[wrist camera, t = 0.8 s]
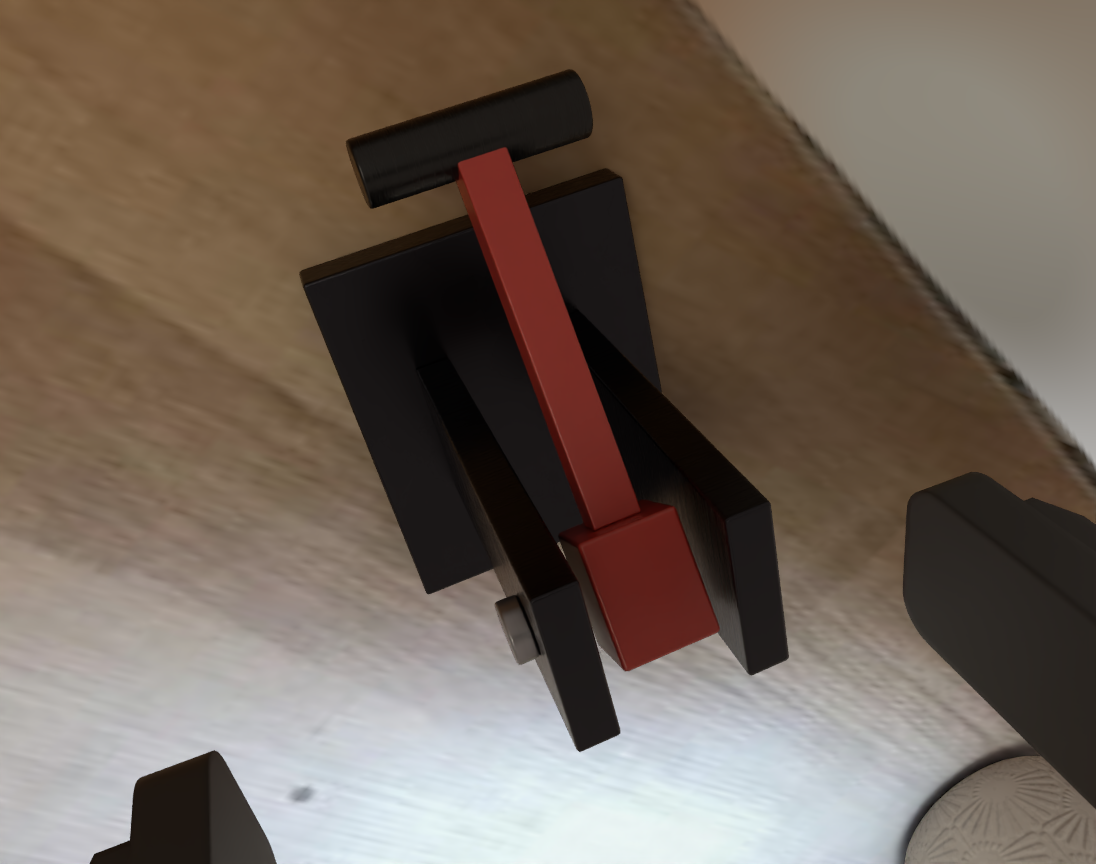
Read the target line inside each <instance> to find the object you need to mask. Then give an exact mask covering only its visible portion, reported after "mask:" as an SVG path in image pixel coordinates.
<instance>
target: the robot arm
mask: <svg viewBox="0 0 1096 864" xmlns="http://www.w3.org/2000/svg"><path fill="white" fill-rule="evenodd" d="M903 597H904V602H905V606H906V609H907V611H908V614H909V616H910V618H911V620H912V622H913V624H914V626H915V628H916V629H917V631H918V632H919V634H920V635H921V636H922V637H923V639H924V640H925V641H926V642H927V643H928V644H929V645H930V646H931V647H932V648H933V649H934V650H935V651H936V652H937V653H938V654H939V655H940V656H941V657H942V658H943V659H944V660H945V661H946V662H947V663H948V664H949V665H950V666H951V667H952V668H953V669H954V670H955V671H956V672H957V673H958V674H959V675H960V676H961V677H962V678H963V679H964V680H965V681H966V682H967V683H968V684H969V685H970V686H971V687H972V688H973V689H974V690H975V691H976V692H977V693H978V694H979V695H980V696H981V697H982V698H983V699H984V700H986V701H987V702H988V703H989V704H990V705H991V706H992V707H993V708H994V709H995V710H996V711H997V712H998V713H999V714H1000V715H1001V716H1002V717H1003V718H1004V719H1005V720H1006V721H1007V722H1008V723H1009V724H1010V725H1011V726H1012V727H1013V728H1014V729H1015V730H1016V731H1017V732H1018V733H1019V734H1020V735H1021V736H1022V737H1023V738H1024V739H1025V740H1026V741H1027V742H1028V743H1029V744H1030V745H1031V746H1032V747H1033V748H1034V749H1035V750H1036V751H1037V752H1038V753H1039V754H1040V755H1041V756H1042V757H1043V758H1044V759H1045V760H1046V761H1047V762H1048V763H1049V764H1050V765H1051V766H1052V767H1053V768H1054V769H1055V770H1056V771H1057V772H1058V773H1059V774H1060V775H1061V776H1062V777H1063V778H1064V779H1065V780H1066V781H1067V782H1068V783H1069V784H1070V785H1071V786H1072V787H1073V788H1074V789H1075V790H1076V791H1077V792H1078V793H1079V794H1080V795H1081V796H1082V797H1083V798H1084V799H1086V800H1087V801H1088V802H1089V803H1090V804H1091V805H1092V806H1093V807H1094V808H1095V809H1096V524H1094V523H1093V522H1091V521H1090V520H1088V519H1087V518H1085V517H1084V516H1082V515H1079V514H1076V513H1073V512H1071V511H1068V510H1065V509H1062V508H1060V507H1057V506H1054V505H1051V504H1049V503H1046V502H1043V501H1040V500H1038V499H1035V498H1030V499H1028V500H1025V501H1023V500H1021V499H1020V498H1019V497H1017V496H1016V495H1014V494H1013V493H1012V492H1010V491H1009V490H1007V489H1006V488H1004V487H1003V486H1002V485H1000V484H999V483H997V482H996V481H994V480H993V479H992V478H990V477H988V476H987V475H984V474H982V473H978V472H970V473H967V474H965V475H962V476H959V477H956V478H954V479H951V480H948V481H946V482H943V483H940V484H938V485H935V486H932V487H930V488H927V489H924V490H921V491H919V492H916V493H914V494H913V495H912V496H911V497H910V499H909V501H908V505H907V515H906V535H905V555H904V574H903ZM90 864H276V860H275V857H274V854H273V851H272V848H271V846H270V843H269V841H268V839H267V837H266V835H265V833H264V831H263V830H262V828H261V826H260V824H259V822H258V820H257V819H256V817H255V815H254V813H253V811H252V809H251V808H250V806H249V804H248V802H247V800H246V799H245V797H244V795H243V793H242V791H241V789H240V788H239V786H238V784H237V782H236V780H235V779H234V777H233V775H232V773H231V771H230V769H229V768H228V766H227V764H226V762H225V761H224V759H223V757H222V756H221V755H220V754H219V753H218V752H217V751H215V750H214V751H211V752H208V753H206V754H203V755H200V756H198V757H195V758H192V759H190V760H187V761H184V762H181V763H179V764H176V765H173V766H171V767H168V768H165V769H163V770H160V771H157V772H155V773H152V774H149V775H146V776H144V777H141V778H139V779H138V780H137V782H136V784H135V788H134V793H133V805H132V820H131V834H130V841H127V842H125V843H122V844H119V845H117V846H114V847H112V848H109V849H106V850H104V851H101V852H98V853H96V854H94V856H93V858H92V860H91V862H90Z"/></svg>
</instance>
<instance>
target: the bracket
mask: <svg viewBox="0 0 1096 864" xmlns="http://www.w3.org/2000/svg"><path fill="white" fill-rule="evenodd" d="M525 198H526V201H527V203H528V206H529V209H530V211H531V214H532V217H533V219H534V222H535V225H536V228H537V230H538V233H539V236H540V238H541V241H542V244H543V246H544V249H545V252H546V255H547V257H548V260H549V263H550V265H551V268H552V271H553V273H554V276H555V279H556V282H557V284H558V287H559V290H560V292H561V295H562V298H563V300H564V303H565V306H566V309H567V311H568V314H569V317H570V319H571V322H572V325H573V327H574V330H575V333H576V336H577V338H578V341H579V344H580V346H581V349H582V352H583V354H584V357H585V360H586V363H587V365H588V368H589V371H590V373H591V376H592V379H593V381H594V384H595V387H596V390H597V392H598V395H599V398H600V400H601V403H602V406H603V408H604V411H605V414H606V417H607V419H608V422H609V425H610V427H611V430H612V433H613V435H614V438H615V441H616V444H617V446H618V449H619V452H620V454H621V457H622V460H623V462H624V465H625V468H626V471H627V473H628V476H629V479H630V481H631V484H632V487H633V489H634V492H635V495H636V498H637V500H638V501H639V500H649V501H653V502H658V503H662V504H667V505H671V506H674V507H675V508H676V509H677V512H678V515H679V518H680V520H681V523H682V526H683V528H684V531H685V534H686V537H687V539H688V542H689V545H690V547H691V550H692V553H693V556H694V558H695V561H696V564H697V566H698V569H699V572H700V575H701V577H702V580H703V583H704V585H705V588H706V591H707V594H708V596H709V599H710V602H711V604H712V607H713V610H714V613H715V615H716V618H717V621H718V623H719V626H720V631H719V632H718V634H719V635H720V636H721V638H722V639H723V640H724V642H725V643H726V645H727V646H728V647H729V649H730V650H731V651H732V653H733V654H734V655H735V657H736V658H737V659H738V661H739V662H740V664H741V665H742V666H743V668H744V669H745V670H746V672H747V673H748V674H749V675H754V674H756V673H759V672H761V671H763V670H765V669H768V668H770V667H772V666H774V665H777V664H779V663H781V662H783V661H786V660H787V659H788V658H789V654H788V646H787V637H786V629H785V620H784V612H783V604H782V595H781V587H780V578H779V570H778V561H777V553H776V545H775V536H774V528H773V519H772V511H771V504H770V502H769V501H768V500H767V499H766V498H765V497H764V496H763V495H762V494H761V493H760V492H759V491H758V490H757V489H756V488H755V487H754V486H753V485H752V484H751V483H750V482H749V481H748V480H747V479H746V478H745V477H744V476H743V475H742V474H741V473H740V472H739V471H738V470H737V469H736V468H735V467H734V466H733V465H732V464H731V463H730V462H729V461H728V460H727V459H726V458H725V457H724V456H723V455H722V454H721V453H720V452H719V451H718V450H717V449H716V448H715V447H714V446H713V445H712V443H711V442H710V441H709V440H708V439H707V438H706V437H705V436H704V435H703V434H702V433H701V432H700V431H699V430H698V429H697V428H696V427H695V426H694V425H693V424H692V423H691V422H690V421H689V420H688V419H687V418H686V417H685V416H684V415H683V414H682V413H681V412H680V411H679V410H678V409H677V408H676V407H675V406H674V405H673V404H672V403H671V402H670V401H669V400H668V399H667V398H666V397H665V396H664V395H663V394H662V390H661V385H660V379H659V374H658V369H657V363H656V358H655V352H654V347H653V342H652V336H651V331H650V325H649V320H648V315H647V309H646V304H645V298H644V293H643V287H642V282H641V277H640V271H639V266H638V260H637V255H636V250H635V244H634V239H633V233H632V228H631V223H630V217H629V212H628V206H627V201H626V195H625V190H624V185H623V179H622V177H620V176H619V175H617V174H615V173H614V172H612V171H610V170H609V169H606V168H605V169H602V170H599V171H596V172H593V173H590V174H587V175H584V176H581V177H578V178H575V179H572V180H569V181H566V182H563V183H560V184H557V185H554V186H551V187H548V188H545V189H542V190H539V191H537V192H534V193H531V194H528V195H525ZM299 275H300V278H301V282H302V285H303V288H304V291H305V293H306V296H307V298H308V301H309V303H310V306H311V308H312V311H313V313H314V316H315V318H316V321H317V323H318V326H319V328H320V330H321V333H322V335H323V338H324V340H325V343H326V345H327V348H328V350H329V353H330V355H331V358H332V360H333V363H334V365H335V368H336V370H337V373H338V375H339V378H340V380H341V383H342V385H343V387H344V390H345V392H346V395H347V397H348V400H349V402H350V405H351V407H352V410H353V412H354V415H355V417H356V420H357V422H358V425H359V427H360V430H361V432H362V435H363V437H364V440H365V442H366V444H367V447H368V449H369V452H370V454H371V457H372V459H373V462H374V464H375V467H376V469H377V472H378V474H379V477H380V479H381V482H382V484H383V487H384V489H385V492H386V494H387V497H388V499H389V501H390V504H391V506H392V509H393V511H394V514H395V516H396V519H397V521H398V524H399V526H400V529H401V531H402V534H403V536H404V539H405V541H406V544H407V546H408V549H409V551H410V554H411V556H412V558H413V561H414V563H415V566H416V568H417V571H418V573H419V576H420V578H421V581H422V583H423V586H424V588H425V591H426V593H427V594H431V593H434V592H436V591H439V590H441V589H444V588H446V587H449V586H451V585H454V584H456V583H459V582H461V581H464V580H466V579H469V578H471V577H474V576H476V575H479V574H481V573H484V572H486V571H488V570H491V569H494V571H495V573H496V575H497V578H498V580H499V582H500V584H501V586H502V589H503V591H504V593H505V595H506V597H507V598H505V599H502V600H500V601H497V602H496V603H495V609H496V612H497V615H498V617H499V620H500V623H501V626H502V628H503V631H504V633H505V636H506V639H507V641H508V644H509V646H510V648H511V651H512V653H513V656H514V658H515V660H516V662H517V663H518V664H519V665H522V664H524V663H527V662H529V661H531V660H534V659H535V660H536V662H537V665H538V667H539V669H540V671H541V673H542V675H543V678H544V680H545V682H546V684H547V686H548V688H549V691H550V693H551V695H552V697H553V699H554V701H555V704H556V706H557V708H558V710H559V712H560V715H561V717H562V719H563V721H564V723H565V725H566V728H567V730H568V732H569V734H570V736H571V738H572V741H573V743H574V745H575V747H576V749H577V750H578V751H579V752H581V751H584V750H586V749H588V748H590V747H593V746H595V745H597V744H599V743H602V742H604V741H606V740H608V739H611V738H613V737H615V736H617V735H619V734H620V727H619V723H618V720H617V716H616V713H615V709H614V705H613V702H612V698H611V695H610V691H609V687H608V684H607V680H606V677H605V673H604V669H603V666H602V662H601V659H600V655H599V651H598V648H597V644H596V641H595V637H594V633H593V630H592V626H591V623H590V619H589V616H588V612H587V608H586V605H585V601H584V598H583V594H582V590H581V587H580V583H579V581H578V579H577V578H576V576H575V574H574V572H573V571H572V569H571V567H570V565H569V564H568V562H567V560H566V559H565V557H564V555H563V553H562V552H561V550H560V548H559V547H558V545H557V543H558V542H560V541H559V538H558V534H559V533H560V532H562V531H565V530H567V529H570V528H572V527H575V526H577V525H580V524H582V523H583V520H582V517H581V515H580V512H579V509H578V506H577V504H576V501H575V498H574V496H573V493H572V490H571V488H570V485H569V482H568V480H567V477H566V474H565V472H564V469H563V466H562V464H561V461H560V458H559V456H558V453H557V450H556V448H555V445H554V442H553V440H552V437H551V434H550V432H549V429H548V426H547V424H546V421H545V418H544V416H543V413H542V410H541V408H540V405H539V402H538V399H537V397H536V394H535V391H534V389H533V386H532V383H531V381H530V378H529V375H528V373H527V370H526V367H525V365H524V362H523V359H522V357H521V354H520V351H519V349H518V346H517V343H516V341H515V338H514V335H513V333H512V330H511V327H510V325H509V322H508V319H507V317H506V314H505V311H504V309H503V306H502V303H501V301H500V298H499V295H498V292H497V290H496V287H495V284H494V282H493V279H492V276H491V274H490V271H489V268H488V266H487V263H486V260H485V258H484V255H483V252H482V250H481V247H480V244H479V242H478V239H477V236H476V234H475V231H474V228H473V226H472V223H471V220H470V218H469V215H465V216H462V217H459V218H456V219H453V220H451V221H448V222H445V223H442V224H439V225H436V226H433V227H430V228H427V229H424V230H421V231H418V232H415V233H412V234H409V235H406V236H403V237H400V238H397V239H394V240H391V241H388V242H385V243H382V244H379V245H376V246H373V247H370V248H367V249H364V250H362V251H359V252H356V253H353V254H350V255H347V256H344V257H341V258H338V259H335V260H332V261H329V262H326V263H323V264H320V265H317V266H314V267H311V268H308V269H305V270H302V271H301V272H300V274H299Z"/></svg>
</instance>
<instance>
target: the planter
mask: <svg viewBox="0 0 1096 864" xmlns="http://www.w3.org/2000/svg"><path fill="white" fill-rule="evenodd" d="M904 864H1096V809H1095V808H1094V807H1093V806H1092V805H1091V804H1090V803H1089V802H1088V801H1087V800H1086V799H1084V798H1083V797H1082V796H1081V795H1080V794H1079V793H1078V792H1077V791H1076V790H1075V789H1074V788H1073V787H1072V786H1071V785H1070V784H1069V783H1068V782H1067V781H1066V780H1065V779H1064V778H1063V777H1062V776H1061V775H1060V774H1059V773H1058V772H1057V771H1056V770H1055V769H1054V768H1053V767H1052V766H1051V765H1050V764H1049V763H1048V762H1047V761H1046V760H1045V759H1044V758H1043V757H1042V756H1022V757H1015V758H1011V759H1007V760H1003V761H1000V762H997V763H994V764H991V765H989V766H987V767H984V768H982V769H980V770H978V771H977V772H975V773H973V774H971V775H970V776H968V777H966V778H965V779H963V780H962V781H961V782H959V783H958V784H956V785H955V786H954V787H953V788H951V789H950V790H949V791H948V792H947V793H945V794H944V795H943V796H942V797H941V798H940V799H939V800H938V801H937V802H936V803H935V804H934V805H933V806H932V807H931V808H930V810H929V811H928V812H927V813H926V815H925V816H924V817H923V819H922V820H921V821H920V823H919V825H918V826H917V828H916V830H915V832H914V834H913V836H912V838H911V840H910V843H909V845H908V848H907V852H906V857H905V862H904Z"/></svg>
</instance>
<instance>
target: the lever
mask: <svg viewBox="0 0 1096 864" xmlns="http://www.w3.org/2000/svg"><path fill="white" fill-rule="evenodd" d="M592 129H593V119H592V111H591V105H590V101H589V98H588V95H587V92H586V89H585V87H584V85H583V83H582V81H581V79H580V77H579V76H578V74H577V73H576V72H575V71H574V70H565V71H562V72H559V73H556V74H553V75H550V76H546V77H543V78H540V79H537V80H534V81H531V82H527V83H524V84H521V85H518V86H515V87H512V88H508V89H505V90H502V91H499V92H496V93H493V94H490V95H486V96H483V97H480V98H477V99H474V100H471V101H467V102H464V103H461V104H458V105H455V106H452V107H448V108H445V109H442V110H439V111H436V112H433V113H429V114H426V115H423V116H420V117H417V118H414V119H411V120H407V121H404V122H401V123H398V124H395V125H392V126H388V127H385V128H382V129H379V130H376V131H373V132H369V133H366V134H363V135H360V136H357V137H354V138H351V139H348V140H347V141H346V147H347V151H348V154H349V157H350V161H351V164H352V167H353V169H354V172H355V175H356V178H357V181H358V183H359V186H360V189H361V191H362V194H363V196H364V198H365V201H366V203H367V205H368V206H369V207H370V208H372V209H373V208H376V207H379V206H382V205H385V204H388V203H391V202H394V201H397V200H400V199H403V198H407V197H410V196H413V195H416V194H419V193H422V192H425V191H428V190H431V189H434V188H437V187H440V186H443V185H446V184H449V183H452V182H455V181H456V183H457V185H458V188H459V191H460V194H461V196H462V199H463V202H464V204H465V207H466V210H467V212H468V215H469V218H470V220H471V223H472V226H473V228H474V231H475V234H476V236H477V239H478V242H479V244H480V247H481V250H482V252H483V255H484V258H485V260H486V263H487V266H488V268H489V271H490V274H491V276H492V279H493V282H494V284H495V287H496V290H497V292H498V295H499V298H500V301H501V303H502V306H503V309H504V311H505V314H506V317H507V319H508V322H509V325H510V327H511V330H512V333H513V335H514V338H515V341H516V343H517V346H518V349H519V351H520V354H521V357H522V359H523V362H524V365H525V367H526V370H527V373H528V375H529V378H530V381H531V383H532V386H533V389H534V391H535V394H536V397H537V399H538V402H539V405H540V408H541V410H542V413H543V416H544V418H545V421H546V424H547V426H548V429H549V432H550V434H551V437H552V440H553V442H554V445H555V448H556V450H557V453H558V456H559V458H560V461H561V464H562V466H563V469H564V472H565V474H566V477H567V480H568V482H569V485H570V488H571V490H572V493H573V496H574V498H575V501H576V504H577V506H578V509H579V512H580V515H581V517H582V520H583V523H582V524H580V525H577V526H575V527H572V528H570V529H567V530H565V531H562V532H560V533H559V534H558V538H559V541H560V543H561V546H562V549H563V551H564V554H565V557H566V559H567V562H568V564H569V565H570V567H571V569H572V571H573V572H574V574H575V576H576V578H577V579H578V581H579V583H580V587H581V590H582V594H583V598H584V601H585V605H586V608H587V612H588V616H589V619H590V623H591V626H592V629H593V631H594V634H595V637H596V639H597V642H598V645H599V646H600V647H601V648H602V649H603V650H604V651H605V652H606V653H607V654H608V655H609V656H610V657H611V658H612V659H613V660H614V661H615V662H616V663H617V664H618V665H619V666H620V667H621V668H622V669H623V670H624V671H630V670H632V669H635V668H637V667H639V666H642V665H644V664H646V663H649V662H651V661H653V660H656V659H658V658H660V657H662V656H665V655H667V654H669V653H672V652H674V651H676V650H679V649H681V648H683V647H686V646H688V645H690V644H692V643H695V642H697V641H699V640H702V639H704V638H706V637H709V636H711V635H713V634H716V633H717V632H719V631H720V626H719V623H718V621H717V618H716V615H715V613H714V610H713V607H712V604H711V602H710V599H709V596H708V594H707V591H706V588H705V585H704V583H703V580H702V577H701V575H700V572H699V569H698V566H697V564H696V561H695V558H694V556H693V553H692V550H691V547H690V545H689V542H688V539H687V537H686V534H685V531H684V528H683V526H682V523H681V520H680V518H679V515H678V512H677V509H676V508H675V507H674V506H671V505H667V504H662V503H658V502H653V501H649V500H639V501H638V500H637V498H636V495H635V492H634V489H633V487H632V484H631V481H630V479H629V476H628V473H627V471H626V468H625V465H624V462H623V460H622V457H621V454H620V452H619V449H618V446H617V444H616V441H615V438H614V435H613V433H612V430H611V427H610V425H609V422H608V419H607V417H606V414H605V411H604V408H603V406H602V403H601V400H600V398H599V395H598V392H597V390H596V387H595V384H594V381H593V379H592V376H591V373H590V371H589V368H588V365H587V363H586V360H585V357H584V354H583V352H582V349H581V346H580V344H579V341H578V338H577V336H576V333H575V330H574V327H573V325H572V322H571V319H570V317H569V314H568V311H567V309H566V306H565V303H564V300H563V298H562V295H561V292H560V290H559V287H558V284H557V282H556V279H555V276H554V273H553V271H552V268H551V265H550V263H549V260H548V257H547V255H546V252H545V249H544V246H543V244H542V241H541V238H540V236H539V233H538V230H537V228H536V225H535V222H534V219H533V217H532V214H531V211H530V209H529V206H528V203H527V201H526V198H525V195H524V192H523V190H522V187H521V184H520V182H519V179H518V176H517V174H516V171H515V168H514V165H513V163H512V162H515V161H519V160H522V159H525V158H528V157H531V156H534V155H537V154H540V153H543V152H546V151H549V150H552V149H555V148H558V147H561V146H564V145H567V144H570V143H573V142H576V141H579V140H582V139H585V138H588V137H589V136H590V135H591V133H592Z"/></svg>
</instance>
